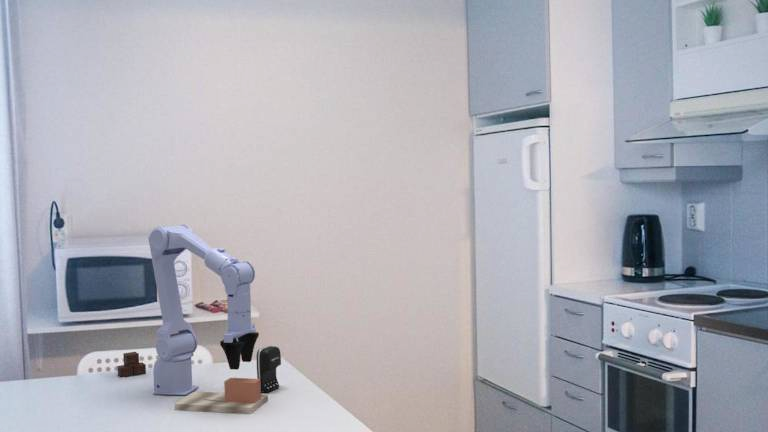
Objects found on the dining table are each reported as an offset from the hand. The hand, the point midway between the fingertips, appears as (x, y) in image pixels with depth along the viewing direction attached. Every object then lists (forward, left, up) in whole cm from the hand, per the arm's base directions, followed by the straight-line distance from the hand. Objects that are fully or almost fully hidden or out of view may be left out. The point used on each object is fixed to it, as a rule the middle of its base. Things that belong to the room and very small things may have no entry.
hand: (240, 365), depth 197 cm
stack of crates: (-45, +23, -11) cm, 52 cm away
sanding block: (+1, -2, -8) cm, 9 cm away
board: (-5, -2, -10) cm, 11 cm away
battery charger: (+2, +13, -10) cm, 17 cm away
